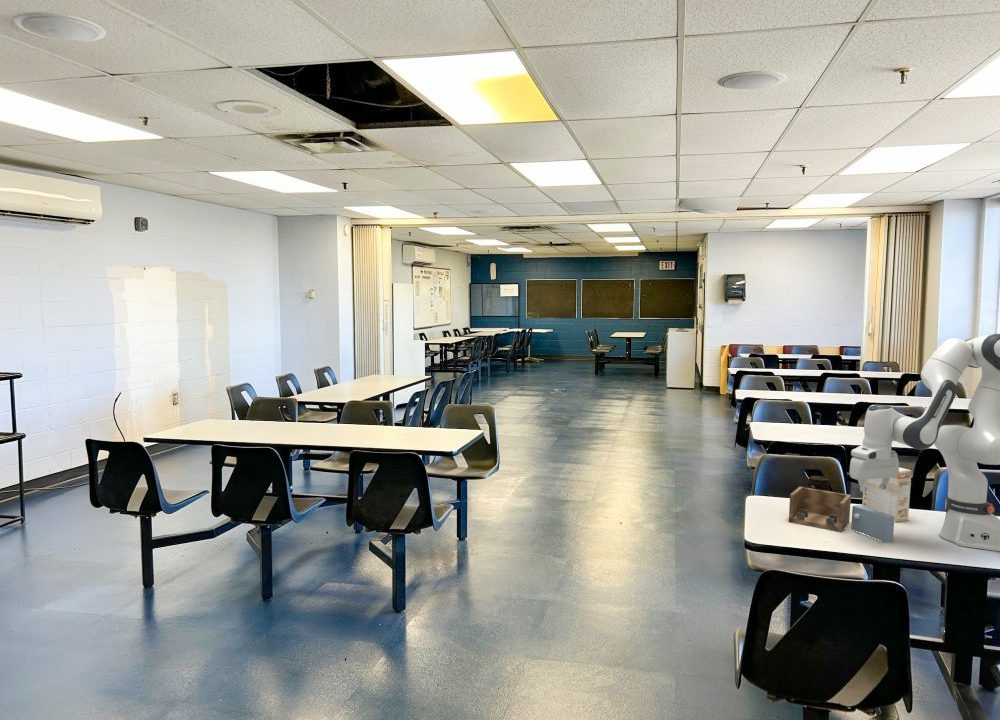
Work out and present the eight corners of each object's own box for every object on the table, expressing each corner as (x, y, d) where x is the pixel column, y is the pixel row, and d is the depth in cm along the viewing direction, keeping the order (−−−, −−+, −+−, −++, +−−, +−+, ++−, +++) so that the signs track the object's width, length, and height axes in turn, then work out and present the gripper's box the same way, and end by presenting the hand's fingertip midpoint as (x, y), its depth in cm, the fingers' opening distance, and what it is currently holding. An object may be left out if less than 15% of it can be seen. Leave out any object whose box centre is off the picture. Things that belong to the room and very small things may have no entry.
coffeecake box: (909, 520, 257) (912, 470, 256) (895, 522, 255) (898, 471, 253) (874, 509, 271) (877, 461, 269) (861, 511, 268) (864, 462, 267)
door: (892, 542, 234) (894, 516, 233) (883, 543, 232) (885, 517, 232) (857, 529, 247) (858, 504, 246) (848, 530, 245) (850, 506, 244)
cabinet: (849, 522, 254) (850, 495, 253) (841, 532, 243) (843, 503, 242) (798, 513, 265) (799, 486, 264) (788, 521, 254) (790, 494, 253)
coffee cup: (831, 509, 270) (832, 477, 269) (828, 514, 263) (830, 481, 262) (807, 505, 275) (808, 473, 274) (803, 510, 268) (805, 478, 267)
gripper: (889, 448, 244) (885, 486, 245) (847, 451, 236) (844, 490, 237) (905, 452, 238) (902, 490, 239) (863, 454, 230) (860, 495, 232)
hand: (873, 490), depth 238 cm, fingers open, 8 cm apart
